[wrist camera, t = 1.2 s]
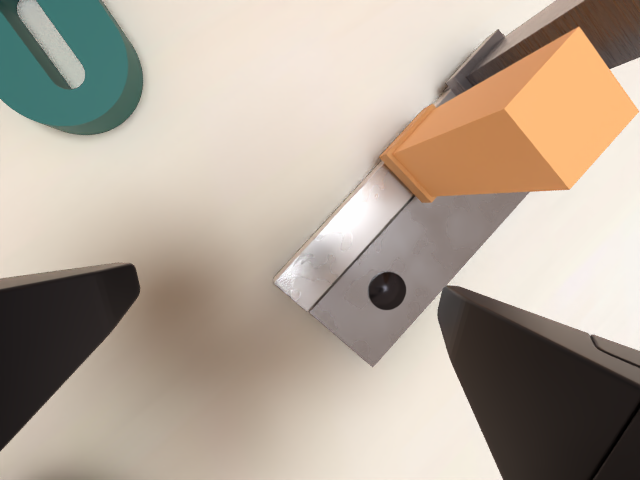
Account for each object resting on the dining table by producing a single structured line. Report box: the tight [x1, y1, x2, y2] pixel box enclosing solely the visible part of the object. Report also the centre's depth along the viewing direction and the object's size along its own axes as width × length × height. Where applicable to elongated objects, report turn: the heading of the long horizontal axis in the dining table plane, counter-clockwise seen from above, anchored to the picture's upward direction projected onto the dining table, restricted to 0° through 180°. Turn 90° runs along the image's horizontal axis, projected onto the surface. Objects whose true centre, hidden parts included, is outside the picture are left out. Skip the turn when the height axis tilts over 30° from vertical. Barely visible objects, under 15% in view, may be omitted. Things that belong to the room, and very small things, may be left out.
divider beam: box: [273, 0, 640, 311], centre depth 16 cm, size 22×4×12 cm, turn 137°
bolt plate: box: [309, 192, 529, 367], centre depth 22 cm, size 22×6×1 cm, turn 137°
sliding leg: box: [379, 27, 639, 203], centre depth 15 cm, size 4×4×10 cm
